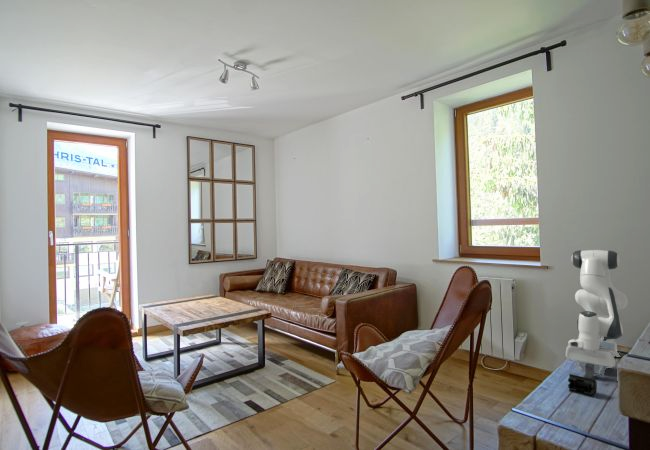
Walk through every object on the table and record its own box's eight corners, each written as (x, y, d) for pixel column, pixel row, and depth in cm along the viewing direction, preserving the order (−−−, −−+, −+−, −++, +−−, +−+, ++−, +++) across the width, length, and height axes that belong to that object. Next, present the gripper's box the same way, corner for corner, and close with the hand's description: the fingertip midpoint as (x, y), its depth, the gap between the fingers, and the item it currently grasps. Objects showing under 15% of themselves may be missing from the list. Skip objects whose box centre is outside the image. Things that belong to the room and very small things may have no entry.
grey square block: (578, 361, 207) (578, 337, 207) (614, 368, 196) (613, 342, 196) (573, 369, 195) (573, 342, 195) (611, 376, 184) (610, 349, 184)
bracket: (587, 374, 187) (586, 363, 187) (594, 376, 185) (594, 364, 185) (585, 378, 182) (585, 365, 183) (592, 379, 180) (592, 367, 181)
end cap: (597, 393, 164) (596, 378, 164) (593, 398, 159) (593, 382, 159) (571, 386, 171) (571, 372, 172) (567, 391, 166) (566, 376, 167)
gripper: (615, 347, 179) (616, 375, 179) (566, 339, 193) (567, 365, 193) (614, 349, 175) (615, 379, 174) (564, 341, 189) (565, 368, 188)
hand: (589, 371), depth 184 cm, fingers open, 6 cm apart
